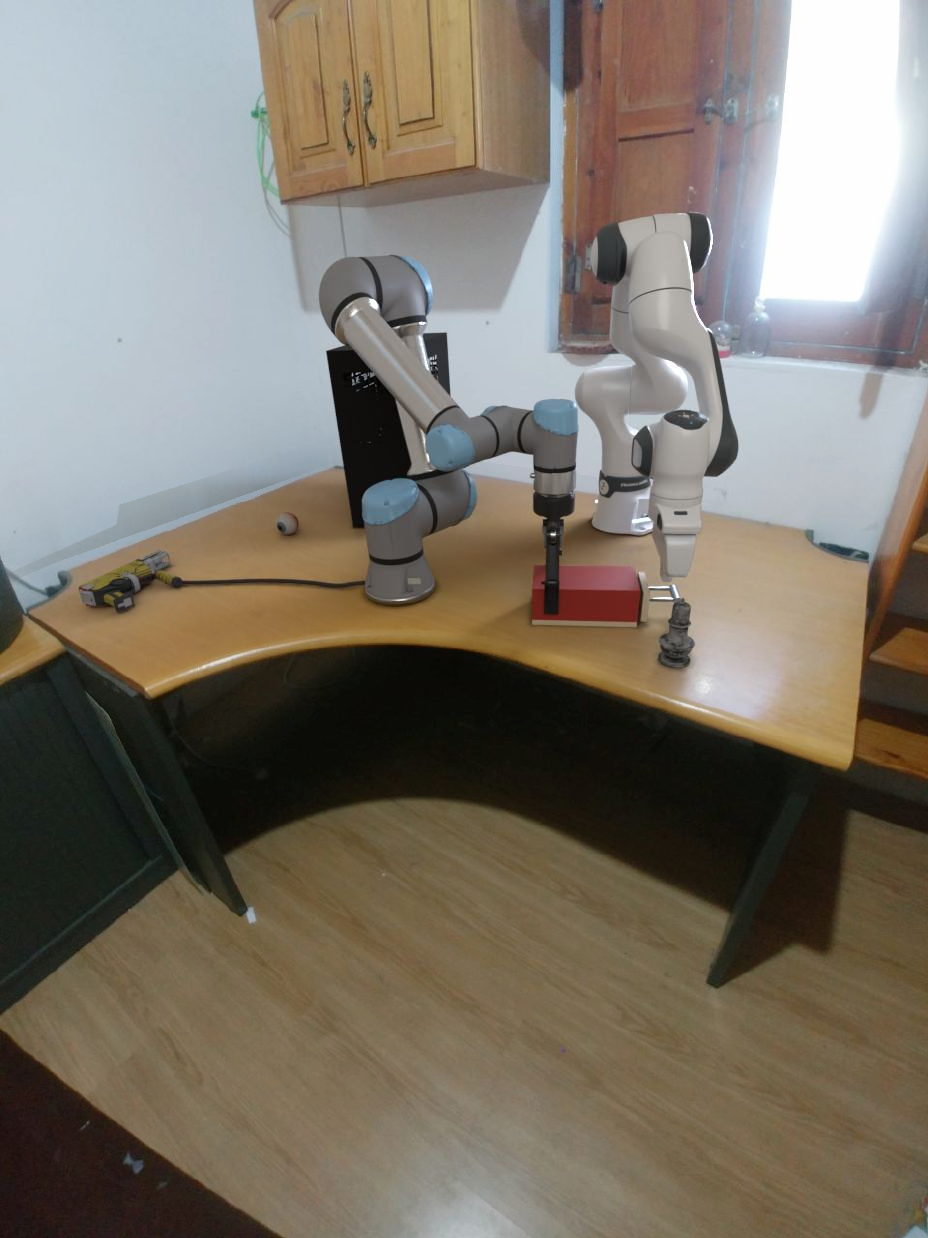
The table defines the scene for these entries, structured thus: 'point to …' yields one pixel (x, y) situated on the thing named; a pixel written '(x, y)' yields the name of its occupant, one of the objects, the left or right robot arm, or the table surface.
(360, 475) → the cardboard box
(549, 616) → the cabinet
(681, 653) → the chess piece
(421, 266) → the left robot arm
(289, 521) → the eyeball
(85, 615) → the table surface
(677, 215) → the right robot arm
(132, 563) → the toy gun
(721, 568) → the table surface
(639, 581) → the drawer
